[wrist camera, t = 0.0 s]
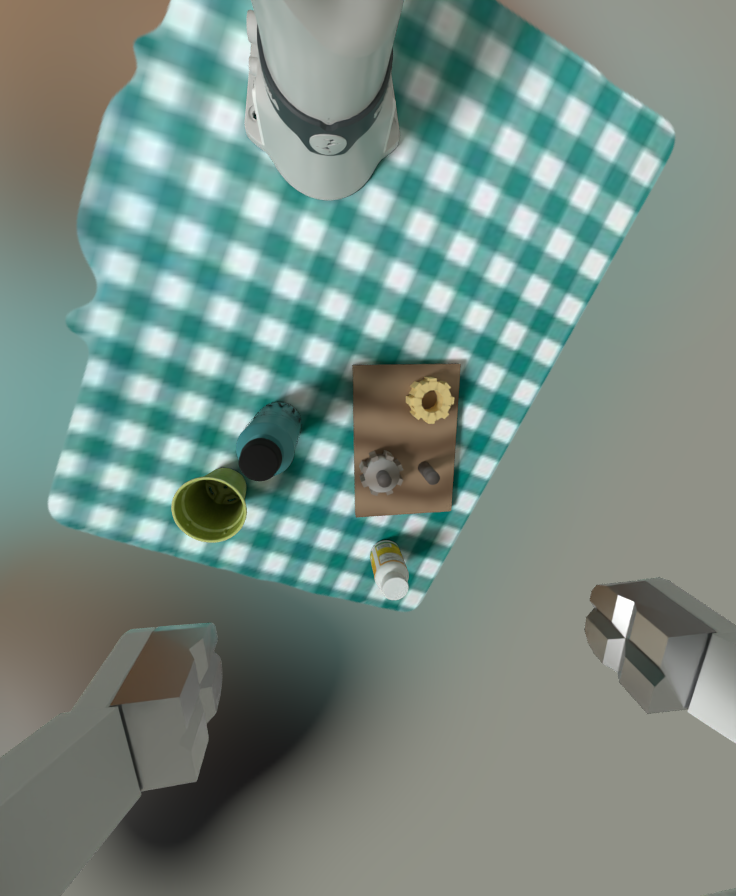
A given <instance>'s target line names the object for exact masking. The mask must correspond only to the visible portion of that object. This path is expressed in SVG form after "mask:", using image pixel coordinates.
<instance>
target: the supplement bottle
mask: <svg viewBox="0 0 736 896" xmlns="http://www.w3.org/2000/svg"><path fill="white" fill-rule="evenodd" d="M370 559H371V564H372V568H373V573H374V577H375V581H376V584H377V586H378V587H379V588H380V589H381V590H382V592H383V595H384V596H385V597H386V598H388V599H390V600H398V599H401V598H402V597H404V596H405V595H406V593H407V592H408V583H407V581H408V577H409V574H408V570H407V567H406V565H405V562H404V560H403V557H402V554H401V552H400V549H399V547H398V545H397V544H396V543H394V542H392V541H389V540H383V541H380V542H378V543H376V544H375V545H374V546H373V547H372V549H371V551H370Z"/></svg>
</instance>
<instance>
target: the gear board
mask: <svg viewBox="0 0 736 896" xmlns="http://www.w3.org/2000/svg"><path fill="white" fill-rule="evenodd" d="M460 365H461V364H393V365H352V366H353V421H354V476H355V515H356V517H368V516H383V515H398V514H413V513H428V512H443V511H451V505H452V490H453V474H454V458H455V443H456V427H457V412H458V396H459V380H460ZM424 377H434V378H437V382H439V381H443V382H446V383H447V384H448V385H449V386H450V387H451V388H450V389H449V391H450V393H451V396H452V397H454V404H451V406H450V409H449V411H448V413H449V415H448V416H447V417H446V418H445V419H443V418H440V419H439V420H436V421H435V424H428V423H426V422H425V421H424V420H423V419H422V418H420V419H419V420H418V419H416V418H415V417H414V416H413V415H412V414H411V413H410V411H411V408H410V406H409V404H407V403H406V396H409V395H411V394H409V392H410V391H411V389H412V388H411V387H410V385H411V384H412V383H413V382H414V381H416V382H420V381H421V380H424ZM436 401H437V395H436V393H435V391H434V390H430V391H428V392H427V393H425V394H424V396H423V398H422V407H423V408H424V409H430V408H431V407H433V406H434V405H435V403H436Z"/></svg>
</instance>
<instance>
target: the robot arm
mask: <svg viewBox="0 0 736 896" xmlns="http://www.w3.org/2000/svg"><path fill="white" fill-rule="evenodd" d="M251 2H252V5H253V9H254V11H253V10H248V12H247V35H248V40H249V42H250V43H251V53H250V57H249V77H248V89H247V101H246V113H245V130H246V134H247V136H248V137H249V139H250V140H251V141H252V142H253V143H254V144H256V145H257V146H258V147H259V148H261V149H262V150H263V151H265V152H266V153H267V154H268V155H269V157H270V158H271V160H272V161H273V163H274V164H275V166H276V168H277V169H278V171H279V172H280V174H281V175H282V176H283V177H284V179H285V180H286V181H287V182H288V183H289V184H290V185H291V186H293V187H294V188H295V189H297V190H298V191H300V192H301V193H303V194H305V195H307V196H309V197H312V198H315V199H320V200H337V199H341V198H345V197H347V196H349V195H351V194H353V193H355V192H356V191H358V190H359V189H360V188H361V187H362V186H363V185H364V184H365V183H366V182H367V181H368V179H369V178H370V177H371V175H372V173H373V172H374V170H375V168H376V166H377V165H378V163H379V162H380V161H381V159H383V158H384V157H386V156H387V155H388V154H390V153H391V152H392V151H393V150H394V149H395V148H396V147H397V145H398V143H399V138H400V131H399V124H398V117H397V110H396V101H395V96H394V89H393V82H392V75H391V70H392V60H393V43H394V39H395V35H396V31H397V27H398V23H399V18H400V15H401V10H402V6H403V2H404V0H251ZM255 114H256V117H257V119H254V118H253V116H254V115H255ZM590 602H591V604H592V605H593V607H594V609H593V610H592V611H591V612H590V613H589V615H588V616H587V617H586V622H585V629H584V630H585V634H586V637H587V641H588V644H589V646H590V648H591V649H592V651H593V653H594V654H595V655H596V657H597V658H598V659H599V660H600V661H601V663H602V664H604V665H606V666H607V667H609V668H611V669H613V670H614V671H616V672H618V678H619V683H620V684H621V685H622V686H623V687H624V688H625V690H626V691H627V692H628V693H629V694H630V695H631V696H632V697H633V699H634V700H635V701H636V702H637V703H638V704H639V705H640V706H641V708H642V709H643V710H644V711H645V712H646V713H647V714H651V713H659V712H669V711H677V710H686V709H688V713H690V714H692V715H693V716H695V717H696V718H698V719H699V720H701V721H702V722H704V723H705V724H707V725H708V726H710V727H711V728H713V729H714V730H716V731H718V732H719V733H720V734H722V735H724V736H725V737H727V738H728V739H730V740H731V741H733V742H734V743H736V625H735V624H733V623H732V622H730V621H729V620H727V619H726V618H724V617H723V616H721V615H720V614H718V613H717V612H715V611H714V610H712V609H711V608H709V607H708V606H706V605H705V604H703V603H702V602H700V601H699V600H697V599H696V598H694V597H693V596H692V595H690V594H689V593H687V592H686V591H684V590H683V589H681V588H680V587H678V586H676V585H675V584H674V583H672V582H671V581H669V580H666V579H663V578H660V577H658V578H651V579H643V580H637V581H628V582H619V583H610V584H600V585H596V586H595V587H594V588H593V590H592V591H591V596H590ZM217 640H218V638H217V633H216V628H215V625H214V624H213V623H202V624H188V625H175V626H161V627H158V628H156V627H155V628H141V629H131V630H129V631H128V632H126V633H125V634H123V635H122V637H121V638H120V640H119V641H118V642H117V644H116V645H115V647H114V648H113V650H112V651H111V653H110V654H109V656H108V657H107V659H106V660H105V662H104V663H103V665H102V666H101V668H100V669H99V671H98V672H97V673H96V675H95V677H94V678H93V680H92V681H91V682H90V684H89V685H88V687H87V688H86V690H85V691H84V693H83V694H82V695H81V697H80V698H79V700H78V701H77V703H76V704H75V706H74V707H73V709H72V710H71V712H67V713H60V714H59V715H57V716H56V717H55V718H53V719H52V720H50V721H49V722H48V723H47V724H45V725H44V726H42V727H41V728H40V729H38V730H37V731H36V732H34V733H33V734H32V735H30V736H29V737H27V738H26V739H25V740H23V741H22V742H21V743H19V744H18V745H17V746H15V747H14V748H13V749H11V750H10V751H8V752H7V753H6V754H5V755H3V756H2V757H0V896H61V895H62V894H63V893H64V891H65V890H66V889H67V888H68V886H69V885H70V884H71V883H72V881H73V880H74V879H75V878H76V876H77V875H78V874H79V873H80V871H81V870H82V869H83V868H84V866H85V865H86V864H87V863H88V861H89V860H90V859H91V857H92V856H93V855H94V854H95V853H96V851H97V850H98V849H99V848H100V846H101V845H102V843H103V842H104V841H105V840H106V839H107V837H108V836H109V835H110V834H111V832H112V831H113V830H114V829H115V827H116V826H117V825H118V824H119V822H120V821H121V820H122V819H123V817H124V816H125V815H126V814H127V812H128V811H129V810H130V809H131V807H132V806H133V805H134V804H135V802H136V801H137V800H138V799H139V797H140V796H141V791H146V790H152V789H157V788H163V787H168V786H174V785H179V784H185V783H190V782H196V781H197V778H198V775H199V771H200V767H201V764H202V761H203V757H204V754H205V750H206V746H207V743H208V739H209V738H208V732H207V726H206V724H207V722H208V721H209V720H210V719H211V718H212V717H213V716H214V715H215V714H216V711H217V707H218V702H219V699H220V693H221V685H222V664H221V658H220V657H219V656H218V655H217V654H216V653H215V652H214V649H215V646H216V643H217ZM702 896H736V888H734V889H729V890H725V891H721V892H716V893H711V894H707V895H702Z"/></svg>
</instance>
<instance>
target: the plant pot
mask: <svg viewBox="0 0 736 896" xmlns="http://www.w3.org/2000/svg"><path fill="white" fill-rule="evenodd" d="M224 486H227V489H225V488H224ZM209 487H211V488H212V491H213V493H214V495H213V494H211V493H210V490H209ZM245 494H246V482H245V480H244V478H243V477H242V475H241V474H240V473H238V472H236V471H234V470H232V469H230V468H219V469H216V470H214V471H212V472H211V473H209V474H208V475H206V476H204V477H200V478H195V479H193V480H190V481H188V482H187V483H185V484H184V485H182V486H181V487H180V488H179V489H178V491H177V492H176V493H175V495H174V497H173V500H172V515H173V518H174V520H175V522H176V524H177V525H178V527H179V528H180V529H181V530H182V531H183V532H184V533H185V534H187V535H188V536H190V537H192V538H194V539H196V540H199V541H202V542H220V541H224V540H227V539H229V538H231V537H232V536H234V535H235V534H236V533H237V532H238V531H239V530H240V529H241V528H242V526H243V524H244V522H245V519H246V515H247V508H246V503H245V500H244V499H245ZM234 498H236V500H233V501H230V502H229V501H228V500H229V499H234Z"/></svg>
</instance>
